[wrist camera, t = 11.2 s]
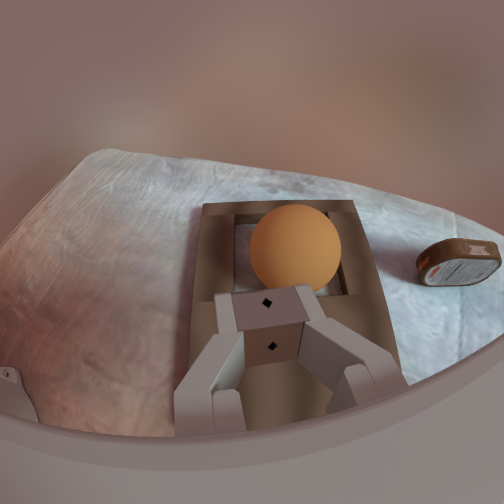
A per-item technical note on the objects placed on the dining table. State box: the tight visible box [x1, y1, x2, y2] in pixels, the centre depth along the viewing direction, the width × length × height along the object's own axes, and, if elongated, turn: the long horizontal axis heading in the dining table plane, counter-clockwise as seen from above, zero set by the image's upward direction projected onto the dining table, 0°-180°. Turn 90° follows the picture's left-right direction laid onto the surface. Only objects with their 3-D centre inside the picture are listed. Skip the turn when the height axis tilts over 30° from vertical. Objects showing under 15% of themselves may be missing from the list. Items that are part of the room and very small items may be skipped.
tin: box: [416, 238, 502, 287], centre depth 29 cm, size 15×3×8 cm, turn 87°
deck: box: [188, 200, 402, 431], centre depth 31 cm, size 22×30×2 cm
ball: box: [249, 204, 341, 292], centre depth 30 cm, size 10×10×10 cm
